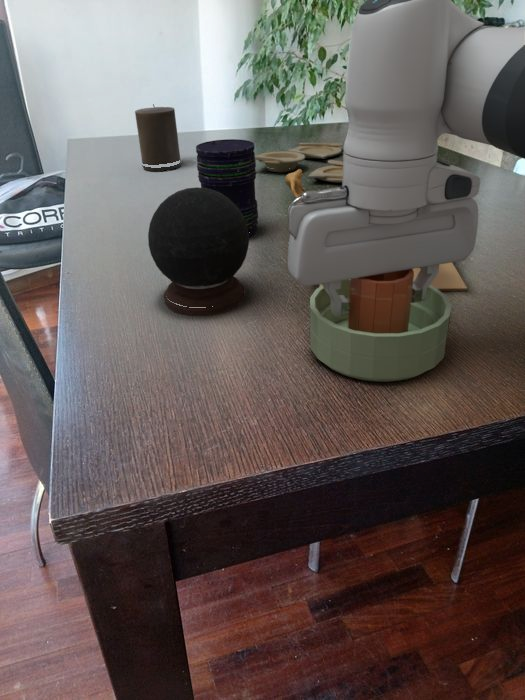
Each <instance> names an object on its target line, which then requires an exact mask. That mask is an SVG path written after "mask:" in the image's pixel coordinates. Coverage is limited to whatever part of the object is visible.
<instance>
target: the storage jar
mask: <svg viewBox="0 0 525 700" xmlns="http://www.w3.org/2000/svg"><path fill="white" fill-rule="evenodd" d="M195 152H196V154H197V155H196V161H197V162H196V169H197V178H198V181H199V184H200V188H208V189H212V190H214V191H217V192H220V193H221V194H223V195H224V196H226V197H227V198H229V199H230V200H231V201H232V202H233V203H234V204H235V205H236V206H237V207H238V208H239V210H240V211H241V213H242V215H243V217H244V219H245V222H246V225H247V228H248V234H249V240H250V239H252V238H254V237H256V236H257V235H258V233H259V227H258V223H259V210H258V200H257V199H256V181H255V180H256V178H257V172H256V167H257V163H256V162H257V161H256V159H255V155H256V153H255V142H254V141H251V140H247V139H239V138H238V139H236V138H235V139H233V138H230V139H226V138H225V139H216V140H210V141H205V142H202V143H201V142H200V143H199V144H197V145H196V146H195ZM249 232H250V233H249Z"/></svg>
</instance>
